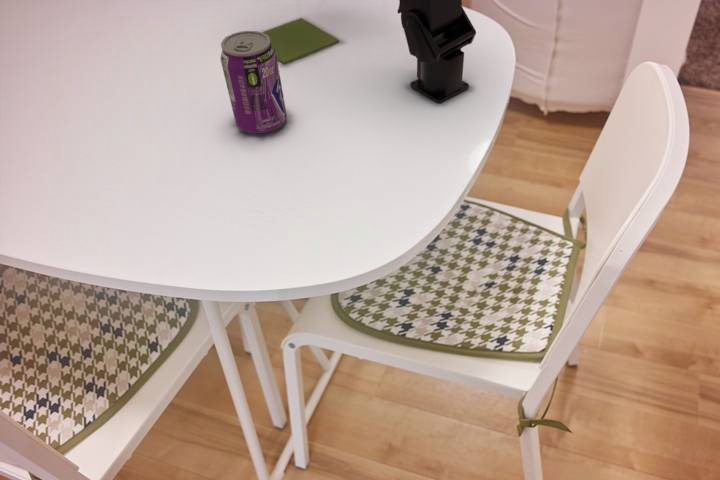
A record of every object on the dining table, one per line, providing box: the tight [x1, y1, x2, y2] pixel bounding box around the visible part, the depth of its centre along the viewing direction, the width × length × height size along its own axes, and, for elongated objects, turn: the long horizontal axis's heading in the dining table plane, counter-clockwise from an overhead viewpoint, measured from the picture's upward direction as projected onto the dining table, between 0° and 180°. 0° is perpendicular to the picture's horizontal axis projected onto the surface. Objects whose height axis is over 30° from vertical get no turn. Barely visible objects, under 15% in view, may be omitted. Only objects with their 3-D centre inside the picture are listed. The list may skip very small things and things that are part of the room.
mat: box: [261, 17, 340, 65], centre depth 102 cm, size 11×11×1 cm
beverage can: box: [220, 30, 288, 134], centre depth 82 cm, size 7×7×12 cm
